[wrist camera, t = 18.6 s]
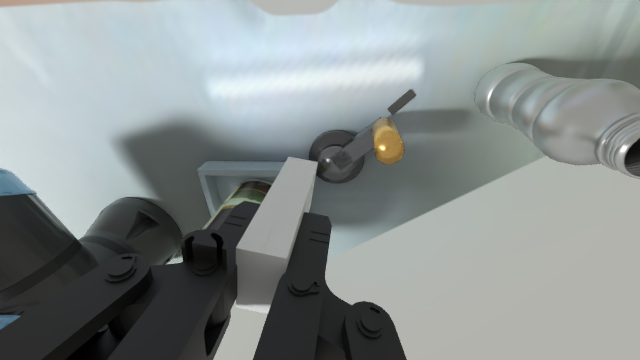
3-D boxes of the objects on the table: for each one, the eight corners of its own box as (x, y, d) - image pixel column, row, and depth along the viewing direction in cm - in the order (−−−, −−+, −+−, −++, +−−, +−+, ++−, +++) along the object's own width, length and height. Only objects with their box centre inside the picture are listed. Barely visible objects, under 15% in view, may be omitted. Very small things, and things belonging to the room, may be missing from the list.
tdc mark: (392, 114, 35) (392, 114, 35) (387, 108, 35) (387, 109, 35) (415, 95, 34) (415, 95, 34) (410, 89, 34) (410, 89, 33)
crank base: (311, 179, 42) (310, 182, 41) (308, 130, 38) (306, 132, 37) (363, 180, 41) (363, 183, 40) (364, 129, 37) (364, 132, 36)
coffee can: (269, 168, 41) (231, 224, 29) (301, 218, 45) (280, 286, 33) (219, 190, 44) (166, 250, 32) (253, 235, 48) (217, 303, 36)
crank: (333, 181, 40) (327, 214, 32) (311, 157, 38) (300, 186, 31) (403, 133, 35) (415, 160, 27) (381, 104, 33) (387, 123, 26)
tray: (228, 237, 50) (220, 249, 47) (206, 160, 43) (196, 169, 40) (310, 241, 48) (308, 254, 45) (304, 161, 40) (300, 170, 38)
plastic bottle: (522, 113, 33) (703, 198, 16) (464, 117, 34) (574, 201, 17) (536, 57, 30) (777, 86, 13) (472, 63, 31) (614, 99, 14)
